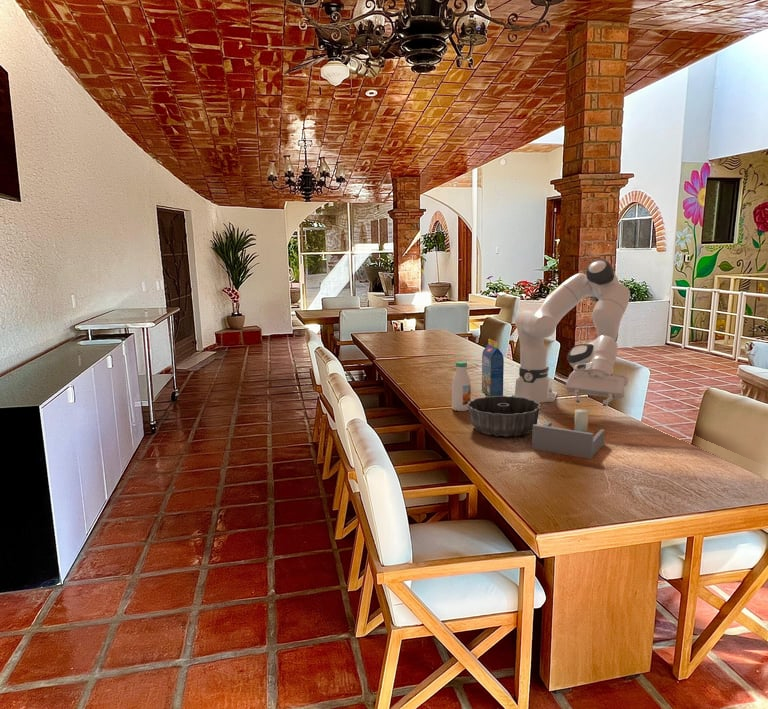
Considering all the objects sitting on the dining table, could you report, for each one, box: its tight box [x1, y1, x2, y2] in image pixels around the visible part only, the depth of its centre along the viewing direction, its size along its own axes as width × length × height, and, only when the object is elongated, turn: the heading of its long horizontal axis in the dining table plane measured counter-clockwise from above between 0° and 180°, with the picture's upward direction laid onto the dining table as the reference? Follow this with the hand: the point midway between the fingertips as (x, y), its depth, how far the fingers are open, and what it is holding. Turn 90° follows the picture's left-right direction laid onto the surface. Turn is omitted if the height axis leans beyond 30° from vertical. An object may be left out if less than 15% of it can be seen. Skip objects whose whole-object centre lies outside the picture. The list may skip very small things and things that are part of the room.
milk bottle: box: [451, 360, 472, 412], centre depth 233 cm, size 8×8×20 cm
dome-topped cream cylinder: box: [574, 408, 589, 432], centre depth 200 cm, size 4×4×8 cm
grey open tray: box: [531, 421, 605, 460], centre depth 187 cm, size 16×19×8 cm
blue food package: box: [481, 338, 505, 397], centre depth 257 cm, size 6×12×25 cm, turn 9°
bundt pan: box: [467, 395, 542, 438], centre depth 206 cm, size 26×26×10 cm
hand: (591, 403), depth 201 cm, fingers open, 8 cm apart
